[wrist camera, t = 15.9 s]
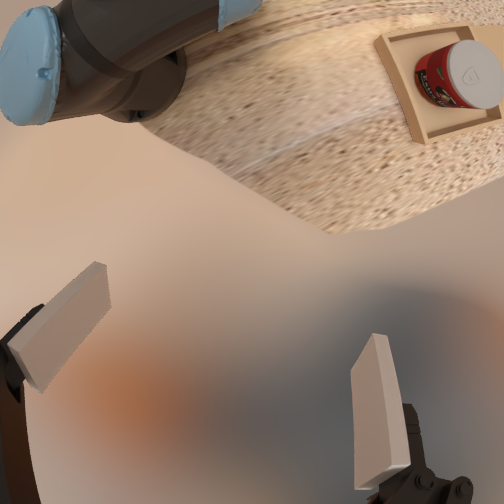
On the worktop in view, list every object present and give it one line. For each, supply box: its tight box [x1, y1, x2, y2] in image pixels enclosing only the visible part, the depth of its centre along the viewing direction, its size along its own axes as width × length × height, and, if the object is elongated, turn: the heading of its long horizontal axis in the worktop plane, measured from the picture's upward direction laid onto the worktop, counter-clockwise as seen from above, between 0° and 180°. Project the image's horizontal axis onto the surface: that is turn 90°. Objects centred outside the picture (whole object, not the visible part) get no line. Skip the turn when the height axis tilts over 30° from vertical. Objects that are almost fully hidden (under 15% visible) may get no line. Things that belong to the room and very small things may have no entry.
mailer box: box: [373, 22, 504, 145], centre depth 23 cm, size 28×14×4 cm, turn 115°
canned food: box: [415, 40, 504, 109], centre depth 22 cm, size 8×8×11 cm
